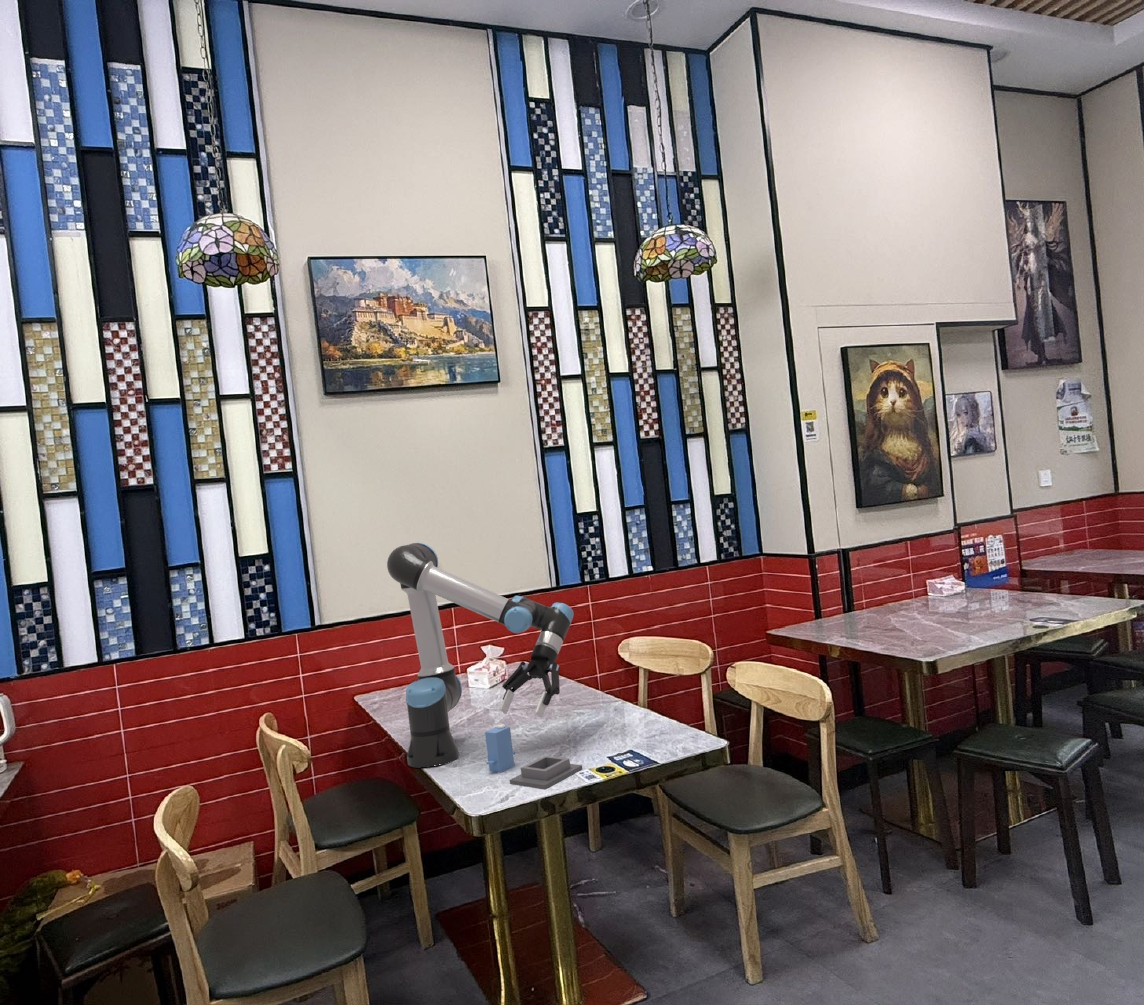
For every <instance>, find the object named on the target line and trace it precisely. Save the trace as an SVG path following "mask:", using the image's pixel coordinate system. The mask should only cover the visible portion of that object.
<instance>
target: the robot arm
mask: <svg viewBox="0 0 1144 1005" xmlns="http://www.w3.org/2000/svg"><path fill="white" fill-rule="evenodd" d="M438 566H439V557H438V554H437V553H436V551H435V549H433V548H432V547H431V546H429V545H428V544H426V543H420V542H413V543H409V544H406V545H405V544H403V545H400V546H397V547H396V548H395V549H393V551H391V552H390V554H389V556H388V559H387V561H386V568H387V570H388V571H387V572H388V574H389V575H390V577H391V578H392V579H393V580H394V581H396V582H397V583H399V584H400V588H401V591H403V592H404V593H406V595H407V599H408V605H409V610H410V616H411V619H412V620H411V621H412V627H413V632H414V637H415V642H416V647H417V652H418V658H419V662H420V663H419V664H420V670H419V671H418V673H417V678H418V679H417V680H415V681H413V682H411V683H410V684H409V685H408V686H407V688H406V691H405V694H406V695H405V701H406V705H407V706H406V707H407V715H408V723H409V732H410V741H409V745H408V751H407V754H406V755H407V756H406V759H407V765H408V766H409V767H411V768H417V769H422V768H421V767H427V768H429V767H428V766H434V765H439V764H443V765H446V764H445V763H447V764H448V762H449V763H451V762H450V761H452V762H454V761H456V760H457V759H458V758H459V756H458V755H459V748H458V745H457V743H456V741H455V739H454V737H453V734H452V733H451V730H450V729H451V728H450V720H449V712H451V710H453V709H454V708H456V707H457V705H458V703H459V702H460V699H461V697H462V695H463V686H462V681H461V680H460V678H459V676H457V675H456V670H455V666H454V665H453V664H451V663H450V662H449V660H448V654H447V648H446V643H445V638H444V632H443V627H442V621H441V618H440V617H441V616H440V611H439V607H438V601H437V597H440V598H442V599H445V600H447V601H449V602H451V603H453V604H456V605H458V606H461V607H463V608H465V609H466V610H469V611H471V612H473V613H476V614H478V615H481V616H482V617H485V618H488V619H490V620H492V621H494V622H497V623H498V624H501V625H503V626H505V627H506V629H507V630H508V631H510V632H512V633H513V634H520V633H524V632H527V630H529V629H530V628H535V629H537V630H540V633H539V636H538V638H537V640H536V643H535V645H534V648H533V649H532V652H531V654H530V661H529V662H528V663H527V662H525V661H523V660H522V661H521V662H520V663H519V665H518V667H517V668H516V670H515V671H514V672H513V673H512V674H511V675H510V676H509V677H508V679H506V681H505V682H504V683H503V684H502V686H501V687H502V688H503V689H504V690H505V693H504V694H503V697H502V702H501V704H500V708H499V711H500V712H502V713H503V714H504V715H507V714H508V712H509V709H510V707H511V705H512V702H513V700H514V697H515V692H516V691H517V690H518V689H520V688H521V687H522V686H523V685H524V684H526V683H527V682H528V681H531V680H532V679H540V680H542V682H543V686H544V688H545V689H544V691H543V692H542V694H541V696H540V699H539V702H538V704H537V707H536V709H535V711H534V713H535V714H536V715H537V716H539V717H540V718H542V717H544V713H545V711H546V708H547V707H548V706H549V705H550V703H551V701H552V698H553V696H554V695H557V696H558V695H559V694H560V693H561V692H560V672H561V666H560V665H559V664H558V663H557V662H556V661H557V658H558V655H559V653H560V651H561V648H562V646H563V644H564V641H565V639H566V636H567V635H568V634H567V633H568V631H569V629H570V627H571V624H572V621H573V618H574V610H573V609H572V608H571V607H570V606H569V605H568V604H566V603H563V602H554V603H552V605H551V606H546V605H544V604H541V603H539V602H536V601H535V600H532V599H529V598H527V597H523V596H520V595H514V596H513V598H512V599H509V598H506V597H504V596H503V595H500V594H498V593H495V592H493V591H491V590H489V589H487V588H485V587H482V586H480V585H477V584H475V583H473V582H471V581H468V580H466V579H464V578H462V577H459V576H457V575H455V574H453V573H451V572H448V571H446V570H444V569H441V568H439V567H438ZM549 672H550V675H549ZM550 678H551V680H550ZM457 757H458V758H457ZM456 758H457V759H456ZM453 760H454V761H453Z"/></svg>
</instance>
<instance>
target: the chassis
mask: <svg viewBox="0 0 1144 1005" xmlns="http://www.w3.org/2000/svg"><path fill="white" fill-rule="evenodd" d="M581 770H583V765H582V764H575V763H571V759H570V758H567V757H561V756H560V757H559V756H554V755H553V756H552V755H544V756H542V757H540V758H537V759H536V760H534V761H532V762H530V763H527V764H525V765H524V766H521V767H520V774H519V775H516V776H515V777H512V778H510V779H509V784H510V785H517V786H521V787H530V788H534V789H542V790H546V789H548V788H551V787H552V786H554V785H555V784H557V783H559V782H561V781H563V780H565V779H566V778H568V777H570V776H572V775H574V774H575V773H578V772H579V771H581Z"/></svg>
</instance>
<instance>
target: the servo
mask: <svg viewBox="0 0 1144 1005" xmlns="http://www.w3.org/2000/svg"><path fill="white" fill-rule="evenodd" d="M484 736H485V742H486V744H485V745H486V753H487V761H486V765H487V766H488V770H489V772H491V773H492V772H493V773H498V772H499V773H500V772H501V773H502V772H504V771H507V770H509V769H510V768H513V767H515V761H514V760H515V759H514V755H515V754H516V753H515V751H514V750H513V740H512V732H511V726H506V724H504V723H500V724H497V725H496V727H493V728H492V729H488V730H486V731H484ZM508 768H509V769H508ZM501 773H500V774H501Z"/></svg>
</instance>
